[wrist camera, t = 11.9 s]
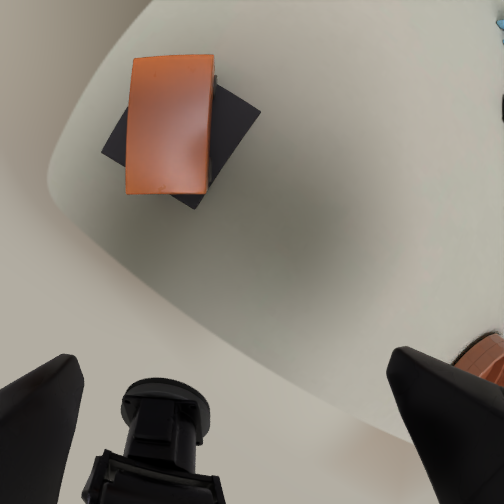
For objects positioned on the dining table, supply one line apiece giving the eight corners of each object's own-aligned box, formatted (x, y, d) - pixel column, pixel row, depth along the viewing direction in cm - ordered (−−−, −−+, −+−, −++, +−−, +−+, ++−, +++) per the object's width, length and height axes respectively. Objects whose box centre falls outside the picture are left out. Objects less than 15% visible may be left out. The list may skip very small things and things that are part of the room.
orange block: (211, 187, 17) (209, 194, 13) (139, 187, 16) (122, 194, 13) (217, 72, 14) (217, 54, 11) (145, 75, 14) (130, 58, 11)
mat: (195, 209, 17) (194, 210, 17) (102, 152, 15) (100, 152, 15) (260, 112, 16) (261, 111, 16) (164, 57, 14) (163, 55, 14)
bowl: (476, 397, 29) (489, 413, 26) (416, 421, 28) (430, 443, 24) (512, 324, 26) (531, 339, 22) (457, 340, 24) (479, 362, 20)
